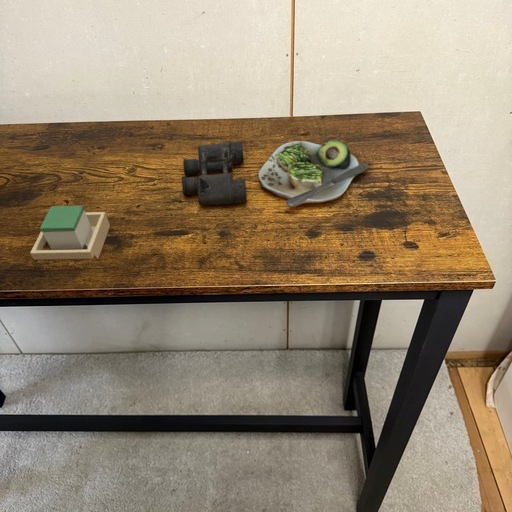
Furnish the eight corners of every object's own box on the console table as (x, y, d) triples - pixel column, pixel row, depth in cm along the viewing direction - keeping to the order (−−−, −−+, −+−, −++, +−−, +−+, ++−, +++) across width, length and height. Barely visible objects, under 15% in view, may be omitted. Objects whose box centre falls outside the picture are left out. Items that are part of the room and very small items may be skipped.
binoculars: (183, 212, 78) (177, 182, 74) (187, 159, 89) (182, 130, 85) (247, 207, 78) (245, 177, 74) (243, 155, 89) (240, 126, 85)
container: (53, 254, 71) (39, 228, 67) (63, 232, 75) (50, 206, 71) (85, 253, 71) (73, 227, 67) (93, 231, 75) (82, 205, 71)
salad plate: (333, 228, 74) (336, 205, 70) (239, 197, 80) (237, 176, 77) (373, 165, 85) (376, 143, 82) (287, 143, 92) (287, 122, 88)
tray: (37, 267, 70) (29, 253, 68) (56, 226, 77) (50, 213, 75) (96, 266, 70) (89, 252, 68) (110, 225, 76) (105, 211, 74)
